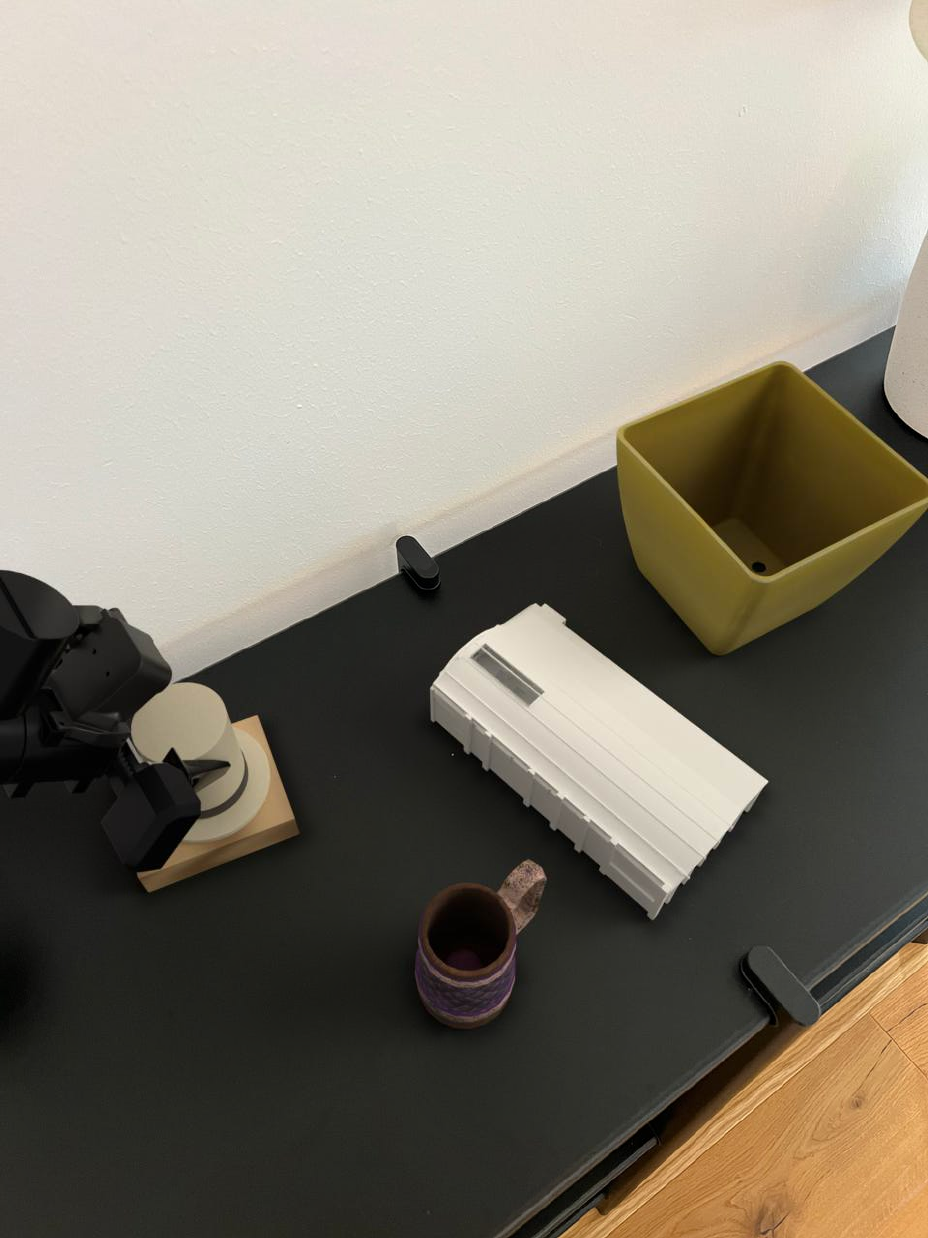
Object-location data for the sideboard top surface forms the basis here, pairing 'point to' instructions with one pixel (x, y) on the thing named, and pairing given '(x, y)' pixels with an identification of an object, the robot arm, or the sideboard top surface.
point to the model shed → (593, 752)
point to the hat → (205, 755)
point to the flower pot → (759, 502)
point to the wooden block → (257, 834)
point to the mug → (474, 946)
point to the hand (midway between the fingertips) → (205, 733)
